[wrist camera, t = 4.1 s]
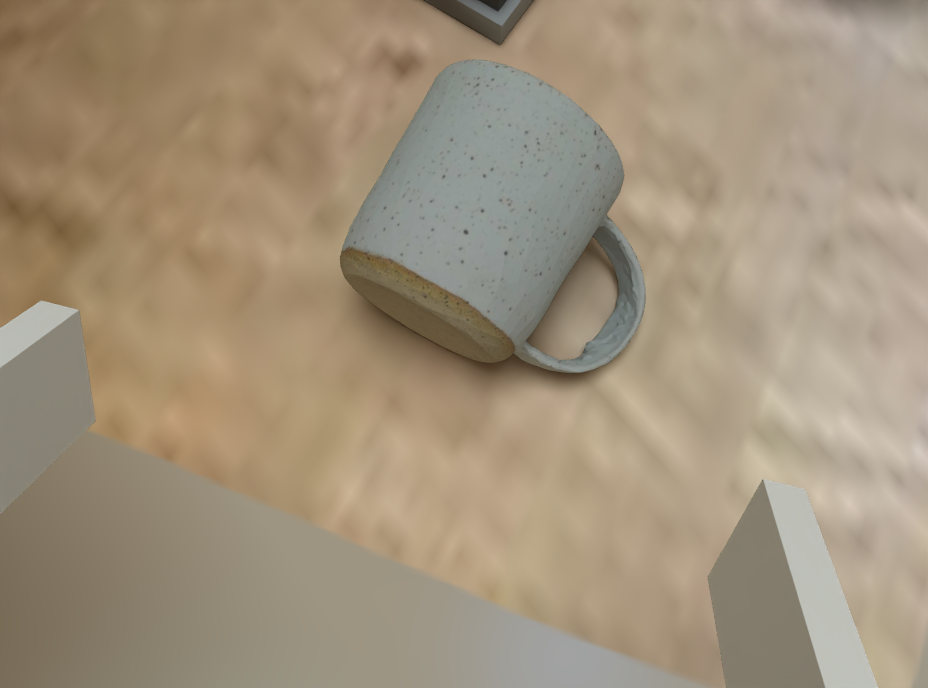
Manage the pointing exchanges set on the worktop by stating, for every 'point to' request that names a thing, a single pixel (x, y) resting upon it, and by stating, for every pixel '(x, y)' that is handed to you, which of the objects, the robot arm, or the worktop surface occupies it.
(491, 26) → the shelf
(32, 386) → the robot arm
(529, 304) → the ceramic mug
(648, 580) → the worktop surface
